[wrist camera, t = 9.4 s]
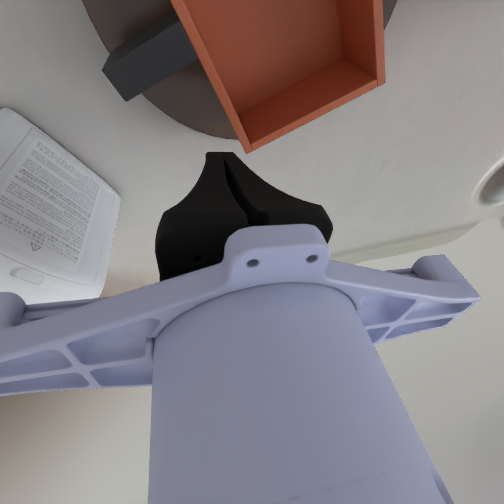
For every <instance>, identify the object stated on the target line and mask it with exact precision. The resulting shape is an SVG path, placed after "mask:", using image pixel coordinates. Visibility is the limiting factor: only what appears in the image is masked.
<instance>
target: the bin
mask: <svg viewBox="0 0 504 504" xmlns="http://www.w3.org/2000/svg"><path fill="white" fill-rule="evenodd" d="M170 1H171V3H172V5H173V7H174V9H175V10H174V11H172V12H171V13H169V14H168V15H166V16H165V17H163V18H161V19H160V20H158V21H157V22H155V23H154V24H152V25H151V26H149V27H147V28H146V29H144V30H143V31H141V32H140V33H138V34H137V35H135V36H134V37H132V38H130V39H129V40H127V41H126V42H124V43H123V44H121V45H120V46H118V47H116V48H115V49H113V50H112V51H111V53H110V55H109V57H108V59H107V61H106V63H105V65H104V67H103V69H102V71H103V73H104V74H105V75H106V77H107V78H108V79H109V80H110V82H111V83H112V84H113V86H114V87H115V88H116V90H117V91H118V92H119V94H120V95H121V96H122V98H123V99H124V100H125V101H128V100H130V99H132V98H133V97H135V96H137V95H138V94H140V93H142V92H143V91H145V90H147V89H148V88H150V87H152V86H153V85H155V84H157V83H158V82H160V81H162V80H163V79H165V78H167V77H168V76H170V75H172V74H173V73H175V72H177V71H178V70H180V69H182V68H183V67H185V66H187V65H188V64H190V63H192V62H194V61H195V60H197V59H198V58H199V60H200V62H201V64H202V66H203V68H204V70H205V72H206V74H207V76H208V78H209V80H210V82H211V84H212V86H213V88H214V90H215V92H216V94H217V96H218V98H219V100H220V102H221V104H222V106H223V108H224V110H225V112H226V114H227V116H228V118H229V120H230V122H231V124H232V127H233V129H234V131H235V133H236V135H237V137H238V139H239V141H240V143H241V145H242V147H243V149H244V151H245V153H246V154H248V153H250V152H252V151H253V150H255V149H257V148H259V147H261V146H263V145H265V144H267V143H269V142H271V141H273V140H275V139H277V138H279V137H281V136H283V135H285V134H287V133H289V132H290V131H292V130H294V129H296V128H298V127H300V126H302V125H304V124H306V123H308V122H310V121H312V120H314V119H316V118H318V117H320V116H322V115H324V114H326V113H327V112H329V111H331V110H333V109H335V108H337V107H339V106H341V105H343V104H345V103H347V102H349V101H351V100H353V99H355V98H357V97H359V96H361V95H362V94H364V93H366V92H368V91H370V90H372V89H374V88H376V87H378V86H380V85H382V84H384V83H385V57H384V27H383V0H170Z"/></svg>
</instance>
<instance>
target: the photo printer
mask: <svg viewBox="0 0 504 504" xmlns="http://www.w3.org/2000/svg"><path fill="white" fill-rule="evenodd" d="M120 206H121V198H120V196H119V195H118V194H117V193H116V192H115V191H114V190H113V189H112V188H111V187H110V186H109V185H108V184H107V183H106V182H105V181H103V180H102V179H101V178H100V177H99V176H97V175H96V174H95V173H94V172H92V171H91V170H90V169H89V168H88V167H86V166H85V165H84V164H83V163H81V162H80V161H79V160H78V159H76V158H75V157H74V156H73V155H71V154H70V153H69V152H68V151H66V150H65V149H64V148H63V147H61V146H60V145H59V144H58V143H57V142H55V141H54V140H53V139H51V138H50V137H49V136H48V135H47V134H45V133H44V132H43V131H41V130H40V129H39V128H37V127H36V126H35V125H33V124H32V123H31V122H29V121H28V120H26V119H25V118H24V117H22V116H21V115H19V114H18V113H16V112H15V111H13V110H11V109H9V108H6V107H4V108H3V109H0V292H11V293H15V294H17V295H19V296H20V297H21V298H22V299H23V300H24V301H25V303H26V305H30V304H40V303H51V302H61V301H72V300H82V299H93V298H99V296H100V294H101V292H102V290H103V287H104V284H105V280H106V275H107V270H108V266H109V260H110V255H111V250H112V245H113V240H114V235H115V230H116V225H117V220H118V216H119V210H120Z"/></svg>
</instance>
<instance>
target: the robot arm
mask: <svg viewBox="0 0 504 504" xmlns="http://www.w3.org/2000/svg"><path fill="white" fill-rule="evenodd" d="M332 231H333V225H332V222H331V220H330V218H329V217H328V215H327V213H326V211H325V210H324V208H323V207H322V206H321V205H317V204H314V203H310V202H306V201H303V200H301V199H298V198H295V197H293V196H290V195H288V194H286V193H284V192H282V191H280V190H278V189H276V188H275V187H273V186H271V185H270V184H268V183H267V182H265V181H264V180H263V179H261V178H260V177H259V176H257V175H256V174H255V173H254V172H253V171H252V170H250V169H249V168H248V167H247V166H246V165H245V164H244V163H243V162H242V161H241V160H240V159H239V158H238V157H237V156H236V155H235V154H234V153H233V152H207V153H206V162H205V166H204V168H203V171H202V173H201V175H200V177H199V179H198V181H197V183H196V185H195V186H194V188H193V189H192V190H191V191H190V193H189V194H188V195H187V196H186V197H185V198H184V199H183V200H182V201H181V202H180V203H178V204H177V205H175V206H174V207H172V208H170V209H169V210H167V211H165V212H164V213H163V215H162V218H161V220H160V223H159V226H158V229H157V234H156V239H155V254H156V259H157V264H158V268H159V273H160V282H158V283H154V284H151V285H148V286H145V287H142V288H138V289H135V290H132V291H129V292H125V293H122V294H119V295H116V296H113V297H103V298H93V299H82V300H72V301H61V302H51V303H40V304H30V305H26V303H25V301H24V300H23V299H22V298H21V297H20V296H19V295H17V294H15V293H11V292H0V396H5V395H13V394H22V393H32V392H42V391H57V390H72V389H73V390H74V389H94V388H117V387H138V386H152V408H151V409H152V410H151V435H150V463H149V489H148V504H454V502H453V500H452V498H451V496H450V494H449V493H448V491H447V489H446V487H445V485H444V483H443V481H442V479H441V477H440V475H439V473H438V471H437V469H436V467H435V465H434V463H433V461H432V459H431V458H430V456H429V454H428V451H427V449H426V448H425V446H424V444H423V442H422V440H421V438H420V436H419V434H418V432H417V430H416V428H415V426H414V424H413V422H412V420H411V418H410V416H409V414H408V412H407V410H406V408H405V406H404V404H403V402H402V400H401V398H400V396H399V394H398V392H397V390H396V388H395V386H394V384H393V382H392V380H391V378H390V376H389V374H388V372H387V370H386V368H385V366H384V364H383V363H382V361H381V358H380V356H379V354H378V352H377V351H376V348H375V347H374V345H375V344H378V343H382V342H385V341H388V340H392V339H395V338H399V337H403V336H407V335H410V334H414V333H419V332H423V331H428V330H433V329H439V328H444V327H446V326H447V325H449V324H450V323H451V322H452V321H454V320H455V319H456V318H458V317H459V316H460V315H461V314H463V313H464V312H465V311H467V310H468V309H469V308H470V307H472V306H473V305H474V304H476V303H477V302H478V301H479V300H481V296H480V295H479V294H478V292H477V291H476V290H475V289H474V288H473V287H472V286H471V285H470V283H469V282H468V281H467V280H466V279H465V278H464V276H463V275H462V274H461V273H460V272H459V271H458V270H457V269H456V267H454V265H453V264H452V263H451V262H450V261H449V260H448V259H447V257H446V256H445V255H434V256H425V257H422V258H420V259H418V260H417V261H416V262H415V263H414V265H413V266H412V268H408V269H398V270H387V271H381V270H376V269H371V268H366V267H362V266H357V265H352V264H347V263H343V262H338V261H333V260H329V259H330V253H331V250H330V248H329V247H328V245H327V244H328V242H329V239H330V237H331V234H332Z"/></svg>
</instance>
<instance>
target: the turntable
mask: <svg viewBox="0 0 504 504" xmlns="http://www.w3.org/2000/svg"><path fill="white" fill-rule="evenodd" d="M82 1H83V3H84V6H85V8H86V10H87V13H88V15H89V17H90V19H91V21H92V23H93V25H94V27H95V29H96V31H97V33H98V34H99V36H100V38H101V40H102V42H103V44H104V45H105V47H106V48H107V50H108V51H109V53H111V51H112V50H113V49H115V48H116V47H118V46H120V45H121V44H123V43H124V42H126V41H127V40H129V39H130V38H132V37H134V36H135V35H137V34H138V33H140V32H141V31H143V30H144V29H146V28H147V27H149V26H151V25H152V24H154V23H155V22H157V21H158V20H160V19H161V18H163V17H165V16H166V15H168V14H169V13H171V12H172V11H174V10H175V9H174V7H173V5H172V3H171V1H170V0H82ZM396 2H397V0H383V27H384V29H385V27H386V25H387V23H388V21H389V19H390V17H391V14H392V12H393V9H394V7H395V4H396ZM142 94H143V95H144V96H145V97H146V98H147V99H148V100H149V101H150V102H152V103H153V104H154V105H155V106H157V107H158V108H159V109H160V110H161V111H163V112H164V113H165V114H167V115H169V116H170V117H172V118H173V119H175V120H176V121H178V122H179V123H182V124H184V125H186V126H188V127H190V128H192V129H194V130H196V131H199V132H202V133H205V134H208V135H211V136H216V137H221V138H226V139H238V137H237V135H236V133H235V131H234V129H233V127H232V124H231V122H230V120H229V118H228V116H227V114H226V112H225V110H224V108H223V106H222V104H221V102H220V100H219V98H218V96H217V94H216V92H215V90H214V88H213V86H212V84H211V82H210V80H209V78H208V76H207V74H206V72H205V70H204V68H203V66H202V64H201V62H200V60H199V58H198V59H197V60H195V61H194V62H192V63H190V64H188V65H187V66H185V67H183V68H182V69H180V70H178V71H177V72H175V73H173V74H172V75H170V76H168V77H167V78H165V79H163V80H162V81H160V82H158V83H157V84H155V85H153V86H152V87H150V88H148V89H147V90H145V91H143V92H142Z"/></svg>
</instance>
